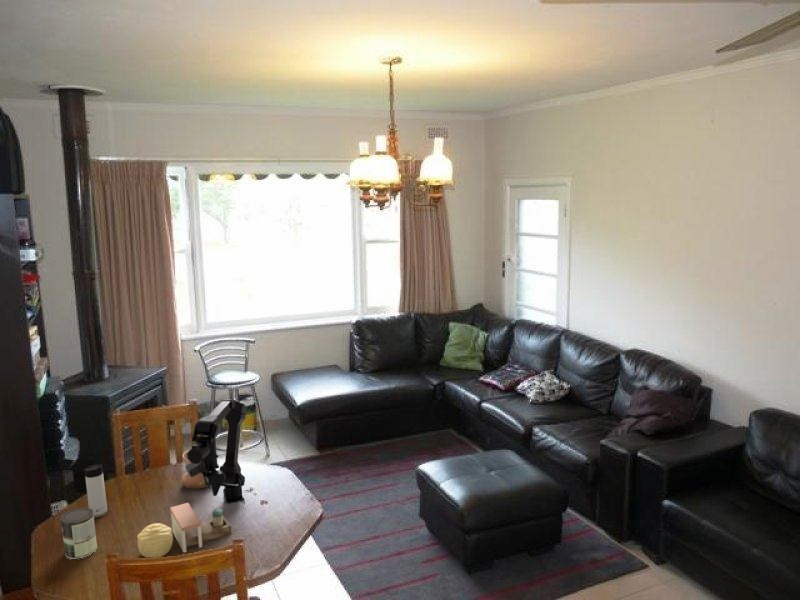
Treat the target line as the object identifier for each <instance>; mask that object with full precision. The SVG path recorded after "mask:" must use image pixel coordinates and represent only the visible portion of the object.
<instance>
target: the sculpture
mask: <svg viewBox="0 0 800 600" xmlns="http://www.w3.org/2000/svg"><path fill="white" fill-rule="evenodd" d="M136 538H137V548H138V551H139V553H140V554H141V556H143V557H144V558H147V559H149V558H148V557H159V558H162V557H164V556H165V555H167V554H168V553H169V552H170V551H171V548H172V546H173V543H174V542H173V541H174V534H173V530H172V527H169V526H167V525H166V524H164V523H159V522H156V523H151V524H149V525H147V526H145V527H144V528H143V529H142V530H141V531H140V533H138V534H137V537H136Z"/></svg>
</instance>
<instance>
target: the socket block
mask: <svg viewBox="0 0 800 600" xmlns="http://www.w3.org/2000/svg"><path fill="white" fill-rule="evenodd" d="M232 532H233V531H232V525H231V523H230V521H228V520H227V518H226V517H225V516H224V515H223V526H221V527H218V528H214V529H213V519H210V520H207V521H202V522H201V536H202V543H204V542H208V541H210V540H213V539H217V538H220V537H223V536H227V535H230V534H232ZM185 539H186V548H188V547H191V546H194V545H197V544H198V545H199V543H198V531H197V527H195V528H192V529H188V530H185Z"/></svg>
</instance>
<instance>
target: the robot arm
mask: <svg viewBox="0 0 800 600" xmlns="http://www.w3.org/2000/svg"><path fill="white" fill-rule="evenodd" d="M247 414H248V407H247V405H246V404H245V403H243V402H239V401H237V400H235V399H234V398H222V399H221V400H220V403H219V404H218V405H217V406H216V407H215V408H214V409H213V411H211V412H210V414H208V415H206V416H203V417H201V418H200V419H198V420H197V421H196V423H195V425H194V429H193V433H192V436H191V437H192V439H191V442H195V443H193V444H192V445H191V448H190V449H188V450H189V452H188V454H187V457H188V460H189V461H190V462H191V463H190V464H188V465H185V466H184V468H185V469H186V472H188V474H189V475H190V477H194V476H196V475H197V474H199V473H200V472H201V473H202V475H203V477H204V480H205V483H206V486H208V487H210V488H211V491H212V495H213V497H216V496H217V495H218V494H219V491H220V488H221V487H223V489H222V491H223V492H222V493H223V499H224V500H225V501H226V503H227V504H233V503H235V502H238V501H242V500H244V499H245V498H244V497H243V486H245V482H246V477H245V476H244V475H243V474H242V468H241V466H240V464H239V460H238V459H239V451H240V450H239V449H240V437H241V426H242V424H243V423H244V422H245V420H246V417H247ZM224 419H225V420H226V422H227V424H228V428H227V436H226V437H227V438H226V439H227V441H226V448H225V449H226V450H225V460H224V462H223V464H222V465H220V464H219V463H218V459H219V454H218V452H217V439H216V438H217V437H218V431H219V430H220V424H221V422H222V421H223V420H224ZM217 469H218V470H217Z"/></svg>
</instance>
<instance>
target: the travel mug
mask: <svg viewBox="0 0 800 600" xmlns="http://www.w3.org/2000/svg"><path fill="white" fill-rule="evenodd" d="M103 470H104V469H103V464H101V463H96V464H93V465H92V464H91V465H89V466H88V467H86V468H84V478H85V485H86V486H85V487H86V494H87V501H88V503H87V504H88V508H91V509H92V510H93V517H94V518H101V517H103V516H105V515H106V514H107V513H108V505H107V498H106V497H107V496H106V488H105V479H104V471H103Z"/></svg>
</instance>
